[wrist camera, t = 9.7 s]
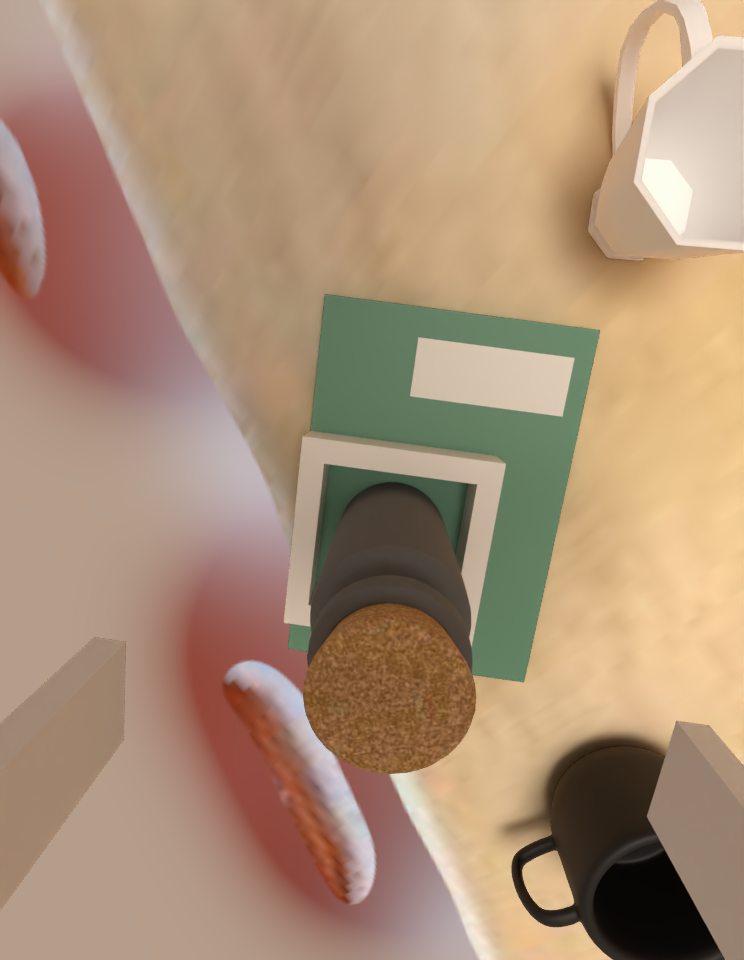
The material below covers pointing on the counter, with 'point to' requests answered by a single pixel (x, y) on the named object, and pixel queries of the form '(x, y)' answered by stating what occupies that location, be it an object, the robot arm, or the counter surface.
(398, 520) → the bottle
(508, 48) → the counter surface
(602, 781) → the mug
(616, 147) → the cup
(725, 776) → the robot arm
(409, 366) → the board
